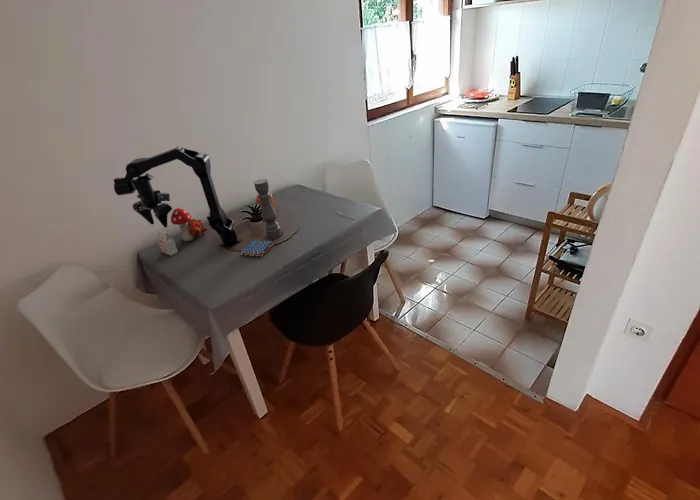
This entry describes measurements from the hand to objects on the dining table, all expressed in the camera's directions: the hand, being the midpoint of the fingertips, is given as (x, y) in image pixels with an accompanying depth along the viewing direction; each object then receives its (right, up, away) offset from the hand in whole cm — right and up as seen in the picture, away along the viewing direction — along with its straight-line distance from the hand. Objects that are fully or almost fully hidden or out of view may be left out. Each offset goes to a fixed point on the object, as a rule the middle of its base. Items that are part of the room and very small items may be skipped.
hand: (159, 225), depth 175 cm
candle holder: (+47, -4, +7) cm, 48 cm away
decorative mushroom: (+5, +1, +12) cm, 13 cm away
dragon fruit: (+10, -4, +17) cm, 20 cm away
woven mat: (+42, -11, -3) cm, 44 cm away
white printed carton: (+2, -11, +6) cm, 13 cm away
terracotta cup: (+40, +8, +30) cm, 50 cm away
